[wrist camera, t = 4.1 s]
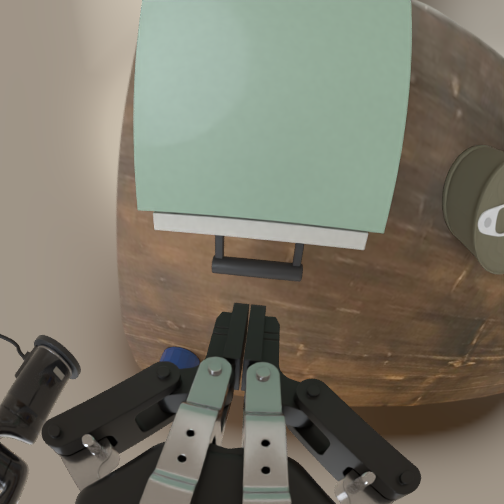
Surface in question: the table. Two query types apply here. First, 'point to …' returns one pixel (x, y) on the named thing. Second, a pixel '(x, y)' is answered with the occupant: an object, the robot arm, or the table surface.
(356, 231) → the drawer
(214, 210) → the mint green cabinet box
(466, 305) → the table surface
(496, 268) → the can
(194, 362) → the cup
